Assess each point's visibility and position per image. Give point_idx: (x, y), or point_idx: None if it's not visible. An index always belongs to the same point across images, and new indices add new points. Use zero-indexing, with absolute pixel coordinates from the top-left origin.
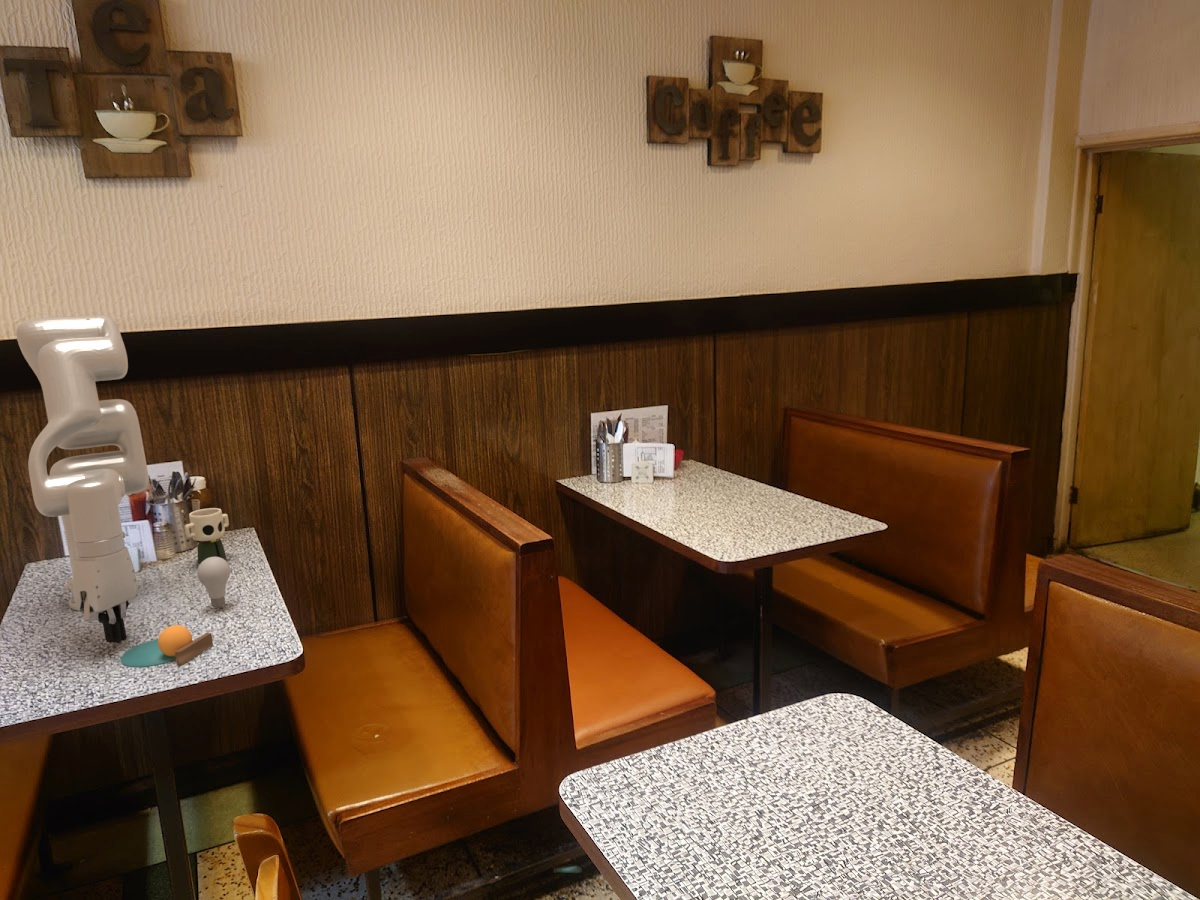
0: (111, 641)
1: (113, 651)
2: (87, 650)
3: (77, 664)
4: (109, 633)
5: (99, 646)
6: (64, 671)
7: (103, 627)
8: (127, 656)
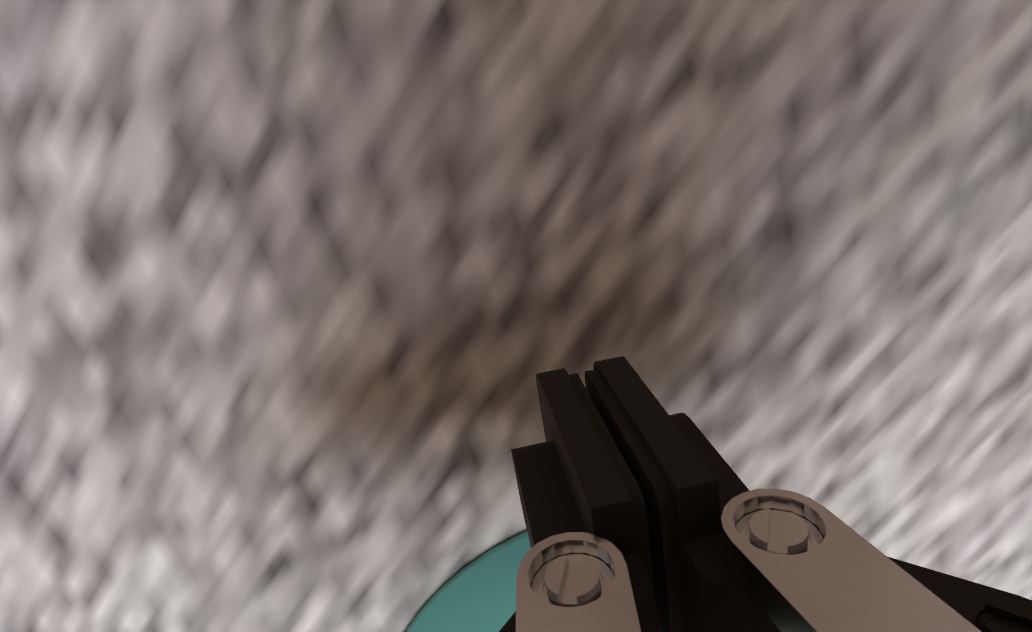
0: (545, 436)
1: (515, 417)
2: (441, 166)
3: (209, 376)
4: (530, 543)
5: (548, 195)
6: (64, 406)
7: (569, 457)
8: (475, 615)
